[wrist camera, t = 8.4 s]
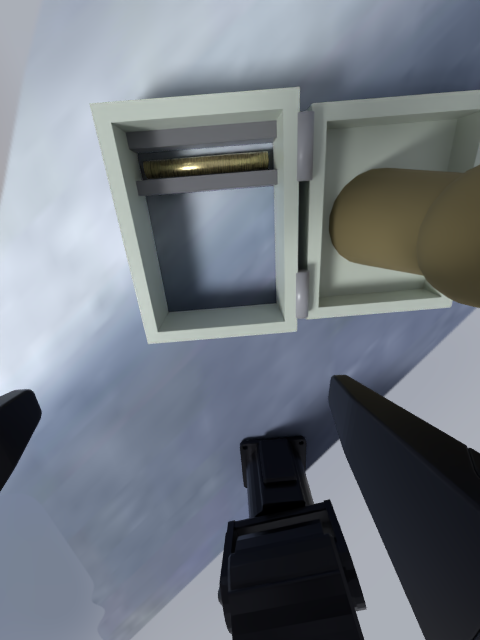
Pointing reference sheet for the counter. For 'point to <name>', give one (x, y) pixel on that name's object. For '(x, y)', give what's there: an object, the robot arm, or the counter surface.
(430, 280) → the cork
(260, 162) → the rod
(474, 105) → the lid
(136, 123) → the case
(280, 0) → the counter surface
